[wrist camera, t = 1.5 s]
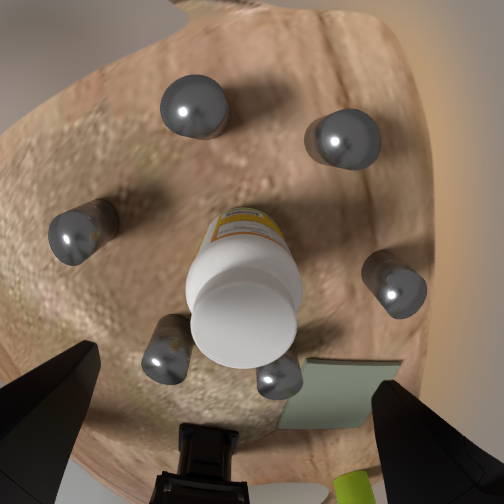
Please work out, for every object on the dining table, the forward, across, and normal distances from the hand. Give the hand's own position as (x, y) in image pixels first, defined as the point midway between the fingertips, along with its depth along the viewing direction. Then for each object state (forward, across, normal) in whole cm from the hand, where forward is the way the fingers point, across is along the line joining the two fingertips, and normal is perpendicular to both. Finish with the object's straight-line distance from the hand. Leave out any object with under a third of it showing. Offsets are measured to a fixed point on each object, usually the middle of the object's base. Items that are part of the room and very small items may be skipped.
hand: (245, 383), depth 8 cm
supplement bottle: (+13, 0, 0) cm, 13 cm away
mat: (+12, -12, +14) cm, 22 cm away
